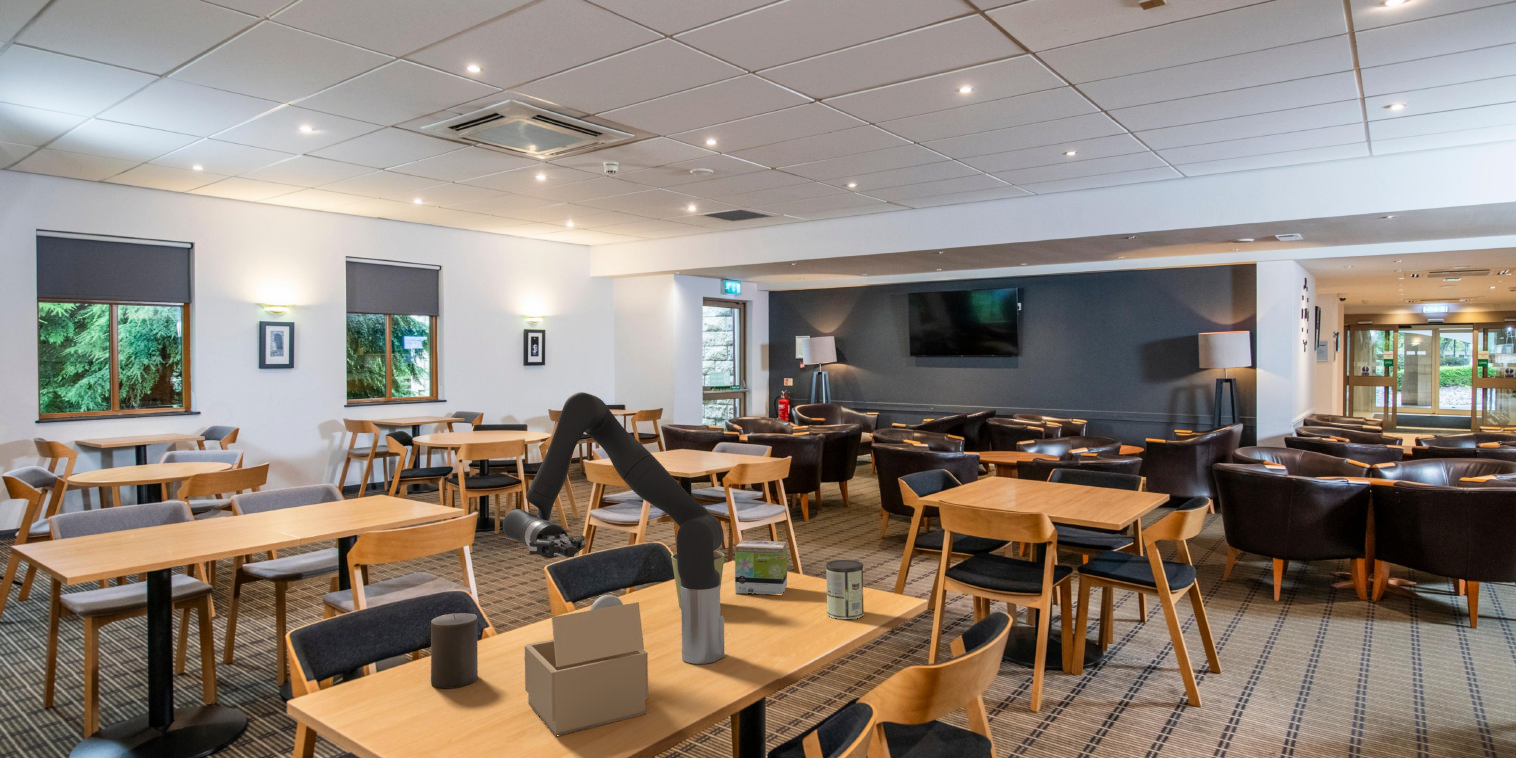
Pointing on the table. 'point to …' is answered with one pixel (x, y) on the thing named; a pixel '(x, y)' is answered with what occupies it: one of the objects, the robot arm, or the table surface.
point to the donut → (606, 602)
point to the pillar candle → (454, 650)
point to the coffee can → (844, 589)
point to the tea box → (760, 567)
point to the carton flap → (597, 634)
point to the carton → (585, 688)
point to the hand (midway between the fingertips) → (571, 552)
